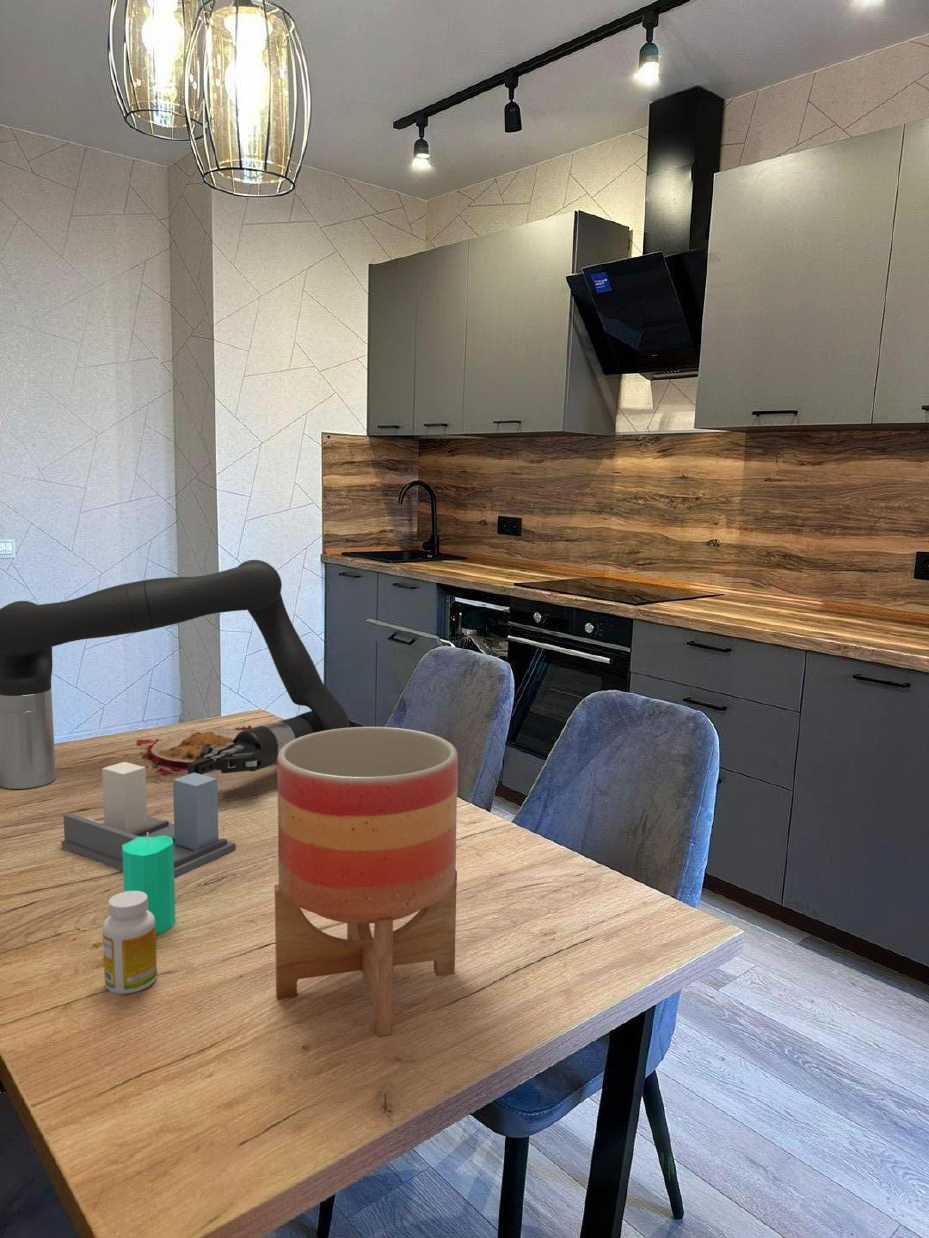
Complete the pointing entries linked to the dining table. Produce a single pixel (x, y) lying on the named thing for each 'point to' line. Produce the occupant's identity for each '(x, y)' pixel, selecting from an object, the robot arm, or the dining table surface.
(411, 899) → the planter
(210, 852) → the tray
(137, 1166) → the dining table surface
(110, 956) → the supplement bottle
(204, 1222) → the dining table surface
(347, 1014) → the dining table surface
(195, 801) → the slate blue key
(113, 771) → the ivory key
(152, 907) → the candle
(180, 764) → the plate with food
